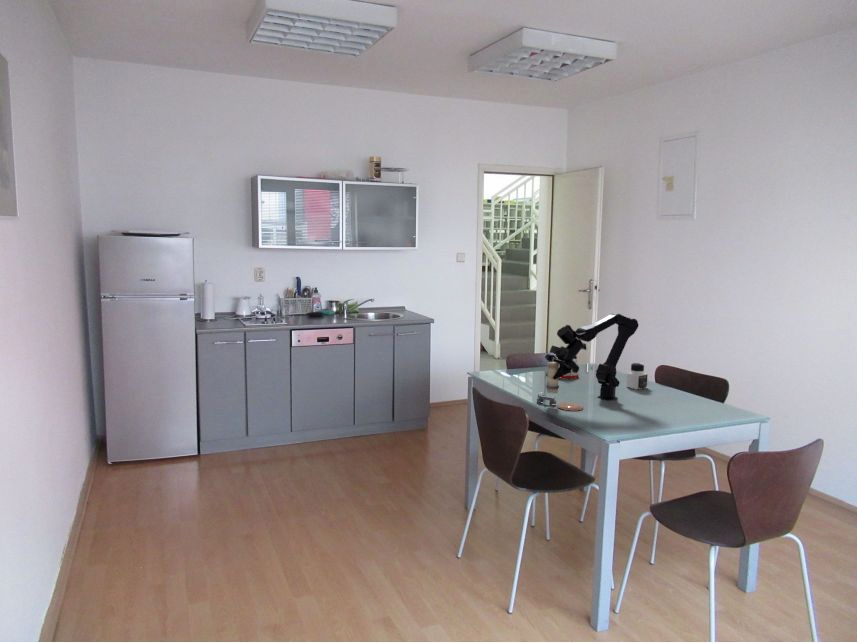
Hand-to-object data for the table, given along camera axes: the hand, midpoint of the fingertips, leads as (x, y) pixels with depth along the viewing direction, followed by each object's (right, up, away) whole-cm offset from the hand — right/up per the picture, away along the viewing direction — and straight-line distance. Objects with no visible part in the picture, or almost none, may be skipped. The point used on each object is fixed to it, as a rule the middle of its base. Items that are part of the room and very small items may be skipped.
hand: (550, 377), depth 279 cm
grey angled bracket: (-1, -12, +7) cm, 14 cm away
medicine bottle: (+49, -8, +36) cm, 62 cm away
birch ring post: (+1, -6, +1) cm, 7 cm away
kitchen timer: (+19, -5, +61) cm, 64 cm away
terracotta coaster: (+8, -13, -2) cm, 15 cm away
